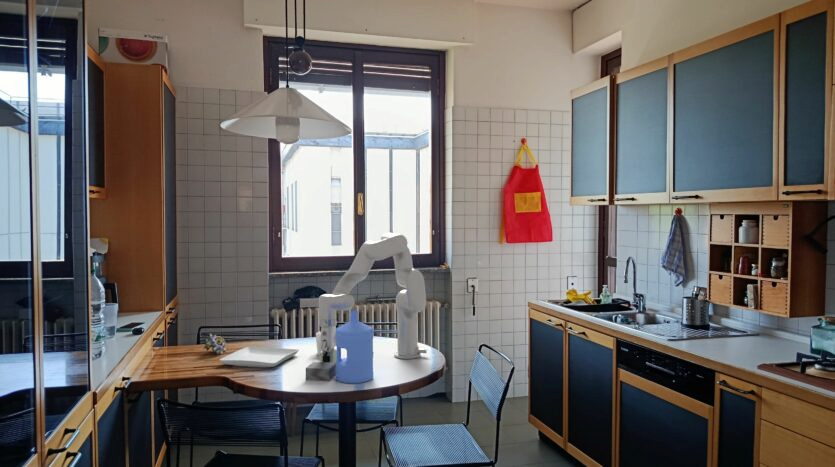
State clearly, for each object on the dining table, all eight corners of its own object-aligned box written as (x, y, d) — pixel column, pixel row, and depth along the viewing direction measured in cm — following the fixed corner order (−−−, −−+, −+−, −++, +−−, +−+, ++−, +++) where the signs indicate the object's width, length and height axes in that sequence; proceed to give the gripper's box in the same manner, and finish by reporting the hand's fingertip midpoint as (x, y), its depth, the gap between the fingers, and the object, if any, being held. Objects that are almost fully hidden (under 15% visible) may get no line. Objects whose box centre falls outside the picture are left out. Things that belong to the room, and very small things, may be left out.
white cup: (334, 351, 290) (334, 331, 290) (330, 355, 282) (330, 334, 282) (318, 351, 291) (318, 331, 290) (314, 355, 283) (314, 334, 283)
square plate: (275, 371, 256) (275, 362, 256) (217, 367, 262) (217, 359, 262) (299, 356, 283) (299, 348, 283) (247, 353, 288) (247, 345, 288)
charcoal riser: (336, 374, 250) (336, 362, 249) (329, 381, 240) (329, 368, 240) (313, 373, 251) (313, 361, 251) (305, 380, 241) (305, 368, 241)
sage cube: (337, 362, 264) (336, 349, 264) (333, 366, 258) (333, 352, 258) (324, 362, 265) (324, 349, 265) (320, 365, 259) (319, 352, 259)
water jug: (374, 373, 251) (373, 308, 250) (372, 384, 236) (372, 314, 235) (337, 373, 251) (337, 308, 250) (333, 384, 235) (332, 314, 234)
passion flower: (220, 365, 285) (218, 348, 278) (199, 360, 286) (196, 344, 278) (230, 347, 294) (228, 331, 287) (209, 343, 295) (207, 327, 287)
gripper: (330, 326, 252) (331, 368, 253) (341, 318, 269) (342, 357, 270) (313, 326, 253) (314, 367, 254) (325, 318, 270) (326, 357, 271)
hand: (328, 362), depth 262 cm, fingers closed on sage cube, 6 cm apart
